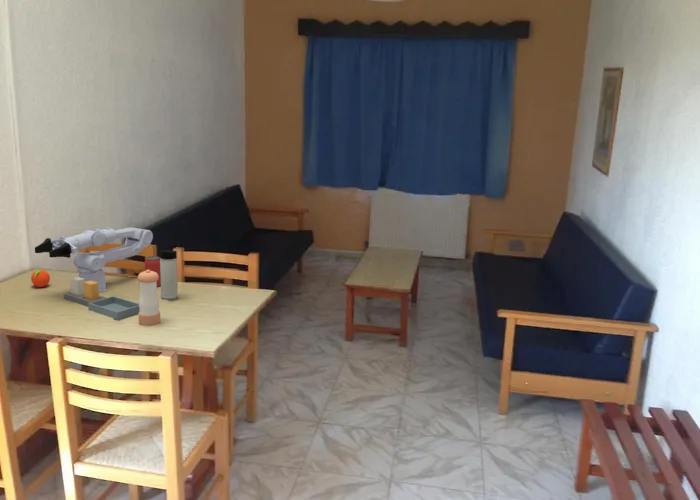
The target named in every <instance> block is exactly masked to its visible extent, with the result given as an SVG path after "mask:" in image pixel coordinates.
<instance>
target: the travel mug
mask: <svg viewBox="0 0 700 500" xmlns="http://www.w3.org/2000/svg"><path fill="white" fill-rule="evenodd" d="M177 254H178V252H177V250H171V249H160V250H159V255H160V256H159V257H160V258H159V259H160V271H161V285H160V298H161V299H162V300H164V301H169V300H173V301H176V300H178V296H179V295H178V293H179V292H178V257H177V256H178V255H177ZM175 299H176V300H175Z"/></svg>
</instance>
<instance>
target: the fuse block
mask: <svg viewBox="0 0 700 500" xmlns="http://www.w3.org/2000/svg"><path fill="white" fill-rule="evenodd" d="M105 298H107V297H105V296H103V295H99V299H95V300H92V301H91V300H88V299H85V298H84V295H81V296H76V295H73V294H71V291H69V292H63V299H64V300H66V301H70V302H73V303H76V304H77V305H78V304H79V305H82V306H85V307H88V303H91V302H94V301H98V300H101V299H105Z"/></svg>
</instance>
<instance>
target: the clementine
mask: <svg viewBox="0 0 700 500" xmlns="http://www.w3.org/2000/svg"><path fill="white" fill-rule="evenodd" d="M50 280H51V276H50V273H49V272H48V271H46V270H44V269H37V270H35V271H34V272H32V274H31V277H30V281H31V283H32V285H34V286H35V287H38V288H44V287H46V286H47V285H49V283H50V282H51V281H50Z"/></svg>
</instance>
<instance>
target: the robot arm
mask: <svg viewBox="0 0 700 500" xmlns="http://www.w3.org/2000/svg"><path fill="white" fill-rule="evenodd" d="M124 238H125V241H124V245H121V246H118V247H116V246H115V247H113V248H109V249H105V250H102V251H101V250H100V251H97V252H82V251H81V252H80V251H79V250H84V249H87V248H89V247H92V246H93V247H101V246H102V245H104V244H110V243H114V242H115V241H116V240H117V239H124ZM153 239H154V234H153V231H151V230H150V229H144V228H137V227H131V226H130V227H126V228H120V229H116V230H115V229H114V228H111V227H110V226H109V227H108V226H107V227H105V228H102V229H100V228H96V229H95V230H89V229H86V230H84V231H83V232H82V233H80V234H79V233H78V234H76V235H72V236H71V235H70V236H68V237H66V236H63V235H60V236H59V239H53V240H52V239H51V238H49V237H47V238H45V240H44V241H43V242H42V243H39V244H38V245H37V246H35V247H34V253H36V254H41V253H42V254H43V253H48V254H49V258H68V259H70V258H71V255H74V254H75V256H74V258H73V261H72V262H73V264H74V267H76V270H77V271H78V277H80V278H83V279H84V280H85V282H87V281H94V282H97V283H98V291H99V293H101V292H105V291H108V289H107V288H106V285H107V284H106V274H105V271H104V270H103V268H104V267H105V265H106V264H108V263H112V262H115V261H119V260H122V259H127V258H130V257H133V256H137V255H138V254H139V253H140V252H141V251H142V250H143V249H145V248H146V247H147V248H148V246H149V247H150V245H151V243H152V242H153ZM53 248H54V249H53Z"/></svg>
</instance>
